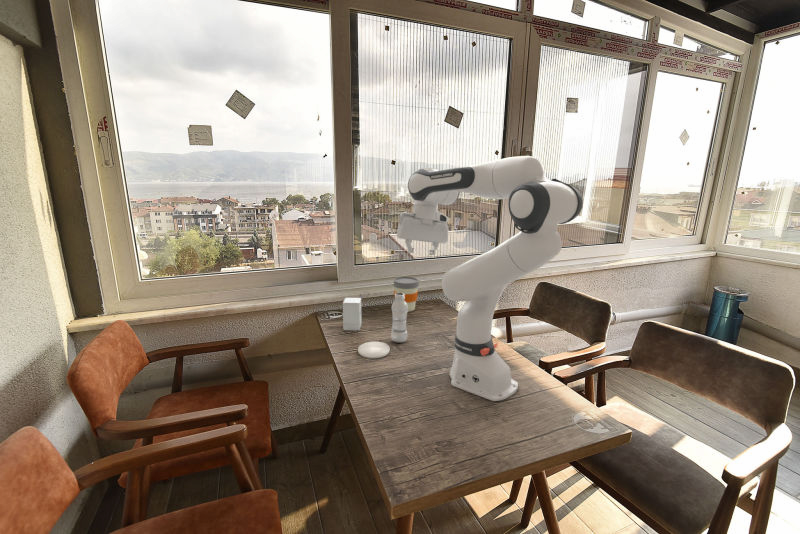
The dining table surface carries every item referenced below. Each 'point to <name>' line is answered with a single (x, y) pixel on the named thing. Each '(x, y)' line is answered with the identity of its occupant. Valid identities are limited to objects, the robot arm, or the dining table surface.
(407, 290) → the reusable coffee cup
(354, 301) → the supplement box
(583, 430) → the dining table surface
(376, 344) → the coaster
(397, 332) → the plastic bottle
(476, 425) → the dining table surface
